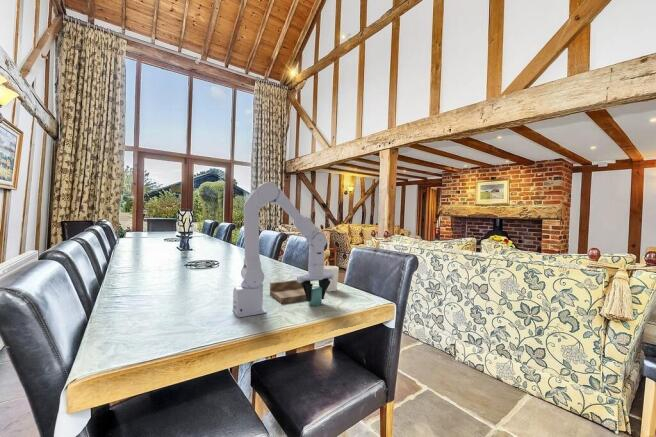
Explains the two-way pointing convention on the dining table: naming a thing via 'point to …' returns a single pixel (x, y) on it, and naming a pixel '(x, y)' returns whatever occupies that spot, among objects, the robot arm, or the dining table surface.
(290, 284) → the walnut shelf
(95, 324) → the dining table surface
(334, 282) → the white cup
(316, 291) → the teal round canister
